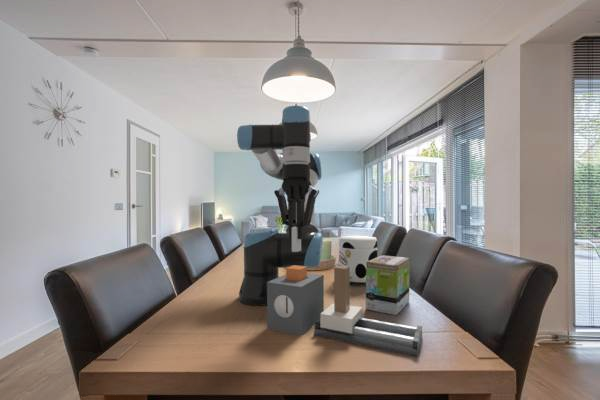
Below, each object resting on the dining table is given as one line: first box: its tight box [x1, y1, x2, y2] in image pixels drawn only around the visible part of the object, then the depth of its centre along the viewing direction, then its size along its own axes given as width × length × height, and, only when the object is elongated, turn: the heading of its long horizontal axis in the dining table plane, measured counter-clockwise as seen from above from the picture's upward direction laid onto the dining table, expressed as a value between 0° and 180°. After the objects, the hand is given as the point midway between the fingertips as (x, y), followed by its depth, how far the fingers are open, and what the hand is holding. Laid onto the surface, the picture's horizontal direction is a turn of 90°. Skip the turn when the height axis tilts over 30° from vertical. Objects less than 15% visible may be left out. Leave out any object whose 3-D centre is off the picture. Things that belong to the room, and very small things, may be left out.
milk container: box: [336, 235, 378, 285], centre depth 127 cm, size 17×17×18 cm
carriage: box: [320, 265, 364, 333], centre depth 78 cm, size 8×9×14 cm
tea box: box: [365, 254, 411, 316], centre depth 98 cm, size 15×10×15 cm, turn 148°
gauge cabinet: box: [266, 272, 325, 337], centre depth 84 cm, size 10×14×12 cm
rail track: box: [313, 317, 423, 357], centre depth 75 cm, size 24×10×3 cm, turn 63°
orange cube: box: [285, 265, 308, 281], centre depth 84 cm, size 4×4×4 cm
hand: (296, 250), depth 84 cm, fingers closed
